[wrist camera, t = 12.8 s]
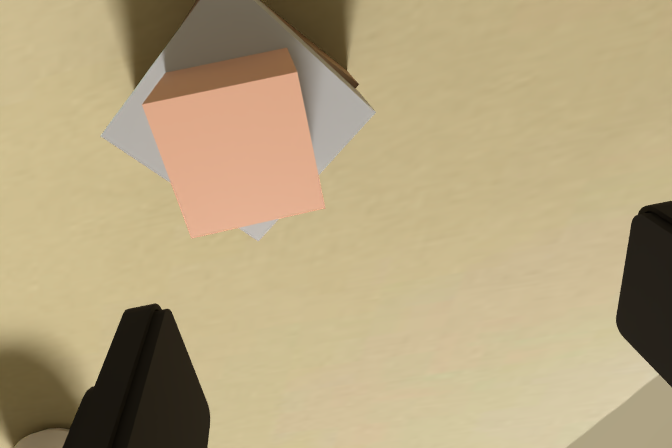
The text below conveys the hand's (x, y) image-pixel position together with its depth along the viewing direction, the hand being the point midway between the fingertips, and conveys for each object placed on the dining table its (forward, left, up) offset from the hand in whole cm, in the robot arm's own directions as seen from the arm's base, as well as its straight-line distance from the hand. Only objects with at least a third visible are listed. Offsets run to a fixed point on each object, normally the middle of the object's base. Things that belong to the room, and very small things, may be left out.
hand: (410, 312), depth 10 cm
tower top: (+1, +4, -22) cm, 23 cm away
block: (+2, +4, -18) cm, 18 cm away
